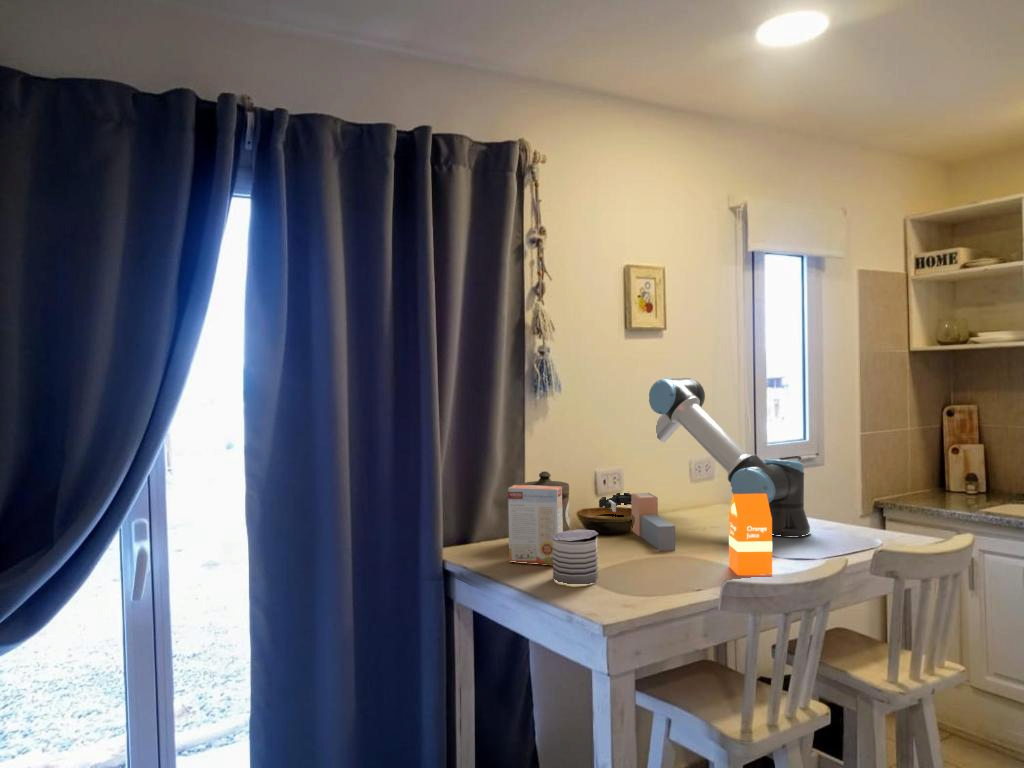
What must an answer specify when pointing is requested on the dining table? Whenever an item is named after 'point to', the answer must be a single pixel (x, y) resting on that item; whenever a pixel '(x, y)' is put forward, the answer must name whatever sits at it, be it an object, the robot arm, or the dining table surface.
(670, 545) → the pad
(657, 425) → the robot arm
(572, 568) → the can
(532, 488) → the cracker box
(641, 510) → the stub tab
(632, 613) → the dining table surface
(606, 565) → the dining table surface
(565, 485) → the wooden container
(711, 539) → the dining table surface
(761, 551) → the orange juice
